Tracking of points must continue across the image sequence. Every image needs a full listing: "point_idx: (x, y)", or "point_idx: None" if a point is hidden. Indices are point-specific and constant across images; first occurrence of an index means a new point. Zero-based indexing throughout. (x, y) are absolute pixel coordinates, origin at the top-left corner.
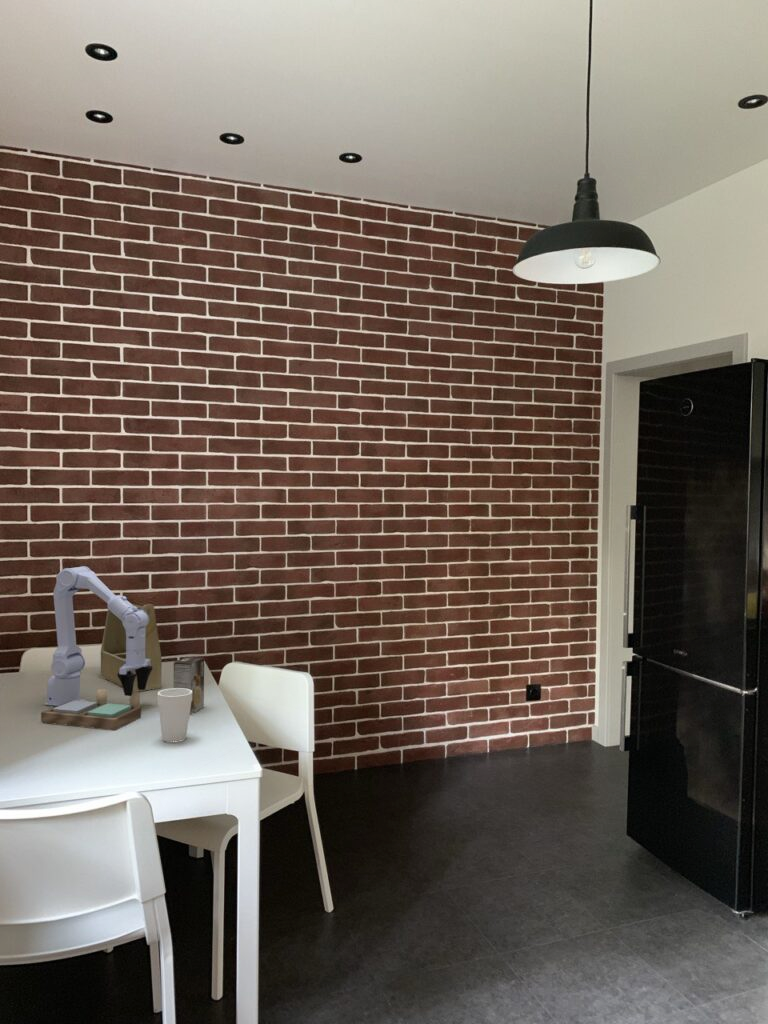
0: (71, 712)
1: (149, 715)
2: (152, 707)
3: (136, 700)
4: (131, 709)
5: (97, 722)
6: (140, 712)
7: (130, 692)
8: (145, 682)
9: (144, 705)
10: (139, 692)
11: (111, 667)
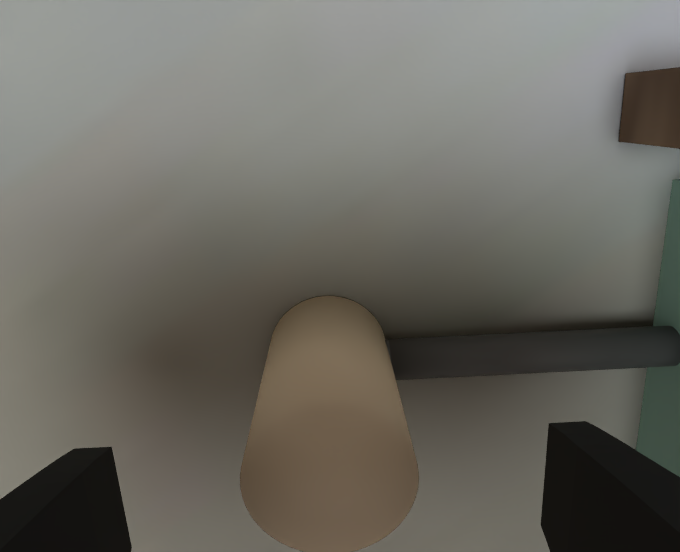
0: None
1: (506, 17)
2: (156, 209)
3: (377, 362)
4: (435, 339)
5: None
6: (677, 69)
7: (637, 458)
8: (16, 540)
9: (126, 350)
10: (275, 431)
11: None
